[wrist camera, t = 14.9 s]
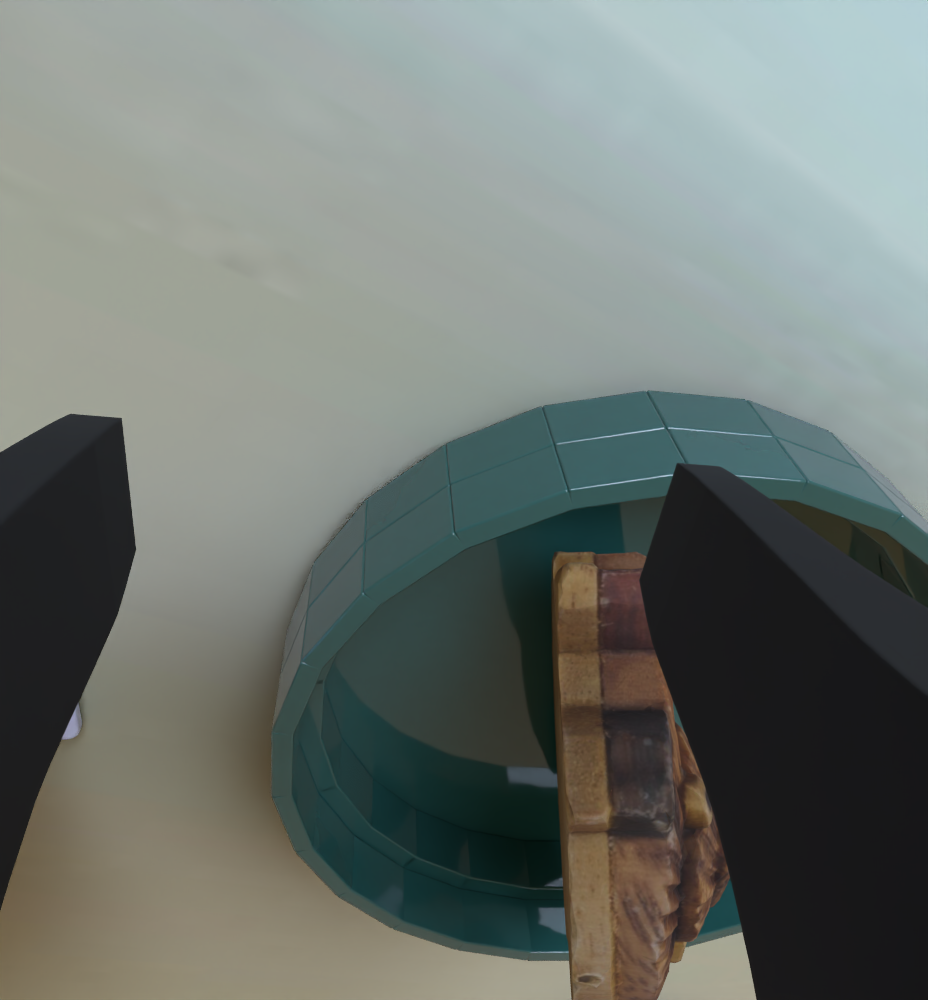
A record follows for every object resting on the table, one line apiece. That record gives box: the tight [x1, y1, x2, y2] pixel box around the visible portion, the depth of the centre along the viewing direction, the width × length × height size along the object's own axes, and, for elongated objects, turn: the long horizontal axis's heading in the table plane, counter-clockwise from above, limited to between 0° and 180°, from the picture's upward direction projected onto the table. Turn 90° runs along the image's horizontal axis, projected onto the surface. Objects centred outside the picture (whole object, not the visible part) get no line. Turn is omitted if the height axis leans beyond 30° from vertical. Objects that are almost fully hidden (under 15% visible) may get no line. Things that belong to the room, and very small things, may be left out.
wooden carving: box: [551, 551, 730, 1000], centre depth 23 cm, size 16×5×10 cm, turn 10°
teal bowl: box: [271, 391, 928, 961], centre depth 26 cm, size 21×21×4 cm
